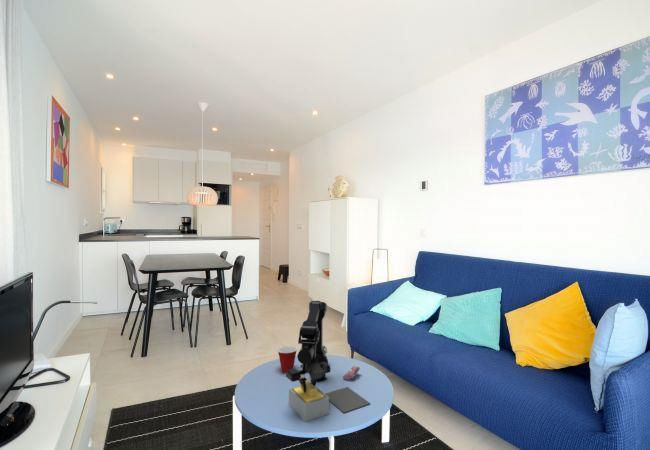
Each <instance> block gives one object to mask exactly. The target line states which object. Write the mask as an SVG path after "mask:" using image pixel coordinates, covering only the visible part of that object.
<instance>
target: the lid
mask: <svg viewBox="0 0 650 450" xmlns="http://www.w3.org/2000/svg"><path fill="white" fill-rule="evenodd" d="M315 386H316V385H315ZM315 386H314V385H313V384H312V383H311V381H310V380H308V379H307V380H306V392H305V393H304V392H303V389H302V387H297V386H296V387H297V388H294V389H293V391H294V392H295V393H296V394H297V395H298V396H299V397H300V398H301V399H302V400H304V401H305V402H306V403H308V402H312V401H315V400H318V399H322V398H325V396H324V395H322V394H321V393H320V392H319V391H318V390H317V388H318V387H317V386H316V387H317V388H316V387H315Z"/></svg>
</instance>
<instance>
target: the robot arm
mask: <svg viewBox="0 0 650 450" xmlns="http://www.w3.org/2000/svg"><path fill="white" fill-rule="evenodd" d="M308 311H309V312H308V314H307V315H308V316H307V318H306V320H304V321H303V322H302V324H301V326H300V328H299V335H298V343H297V344H299V345H301V347H300V349H299V351H298V353H297V354H296V355H297V357H296V358H297V360H298V362H299V363H300V368H301V370H298V369H296V368H294V367H293V369H290V370H287V372H286V373H285V377H286V378H287V379H288V380H289V381H291V382H292V383H293V382H297V381H298V382H299V384H300V386H301V387H302V389H303V392H304V393H305V392H306V380H308V379H307V378H306V375H307V374H309V376H310V383H312V384H313V385H314V386H316V385H317V383H319V382H323V381H326V380H328V378H327V377H326V374H327V373H331V369H332V368H331V366H330V364H329V360H328V356H327V353H326V352H325V350H324V348H323V346H322V345H324V344H323V343H324V340H323V333H324V332H323V329H324V328H323V326H324V325H323V324H324V323H323V319H324V318H325V316H326V315H327V314H326V312H327V311H328V304H327V303H326V302H325V301H320V300H311V301H310V302H309V304H308Z"/></svg>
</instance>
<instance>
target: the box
mask: <svg viewBox="0 0 650 450" xmlns="http://www.w3.org/2000/svg"><path fill="white" fill-rule="evenodd" d="M297 387H301V385H298V386H294V387H289V388H288V405H289V407H291V408H292V410H293V411H295V412H296V414H297V415H298V416H299V417H300V418H301V419H302V420H303V421H304V422H305V423H306V422H309V421H311V420H314V419H318V418H321V417H323V416H326V415H330V414H329V413H330V412H329V409H330V401H329V397H328V396H327V395H325V393H324V392H323V391H322V390H320V388H318V387H317V386H316V385H315V387H316V388H317V390H318V391H319V392H320V393H321V394H322V395H324V396H325V398H322V399H318V400H315V401H312V402H308V403H306V402H305V401H304V400H302V399H301V398H300V397H299V396H298V395H297V394H296V393H295V392H294V391H293V389H294V388H297Z"/></svg>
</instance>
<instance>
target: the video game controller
mask: <svg viewBox="0 0 650 450" xmlns="http://www.w3.org/2000/svg"><path fill="white" fill-rule="evenodd" d="M360 370H361V367H359V366H358V365H353V366H351V368H350V369H349V370H348V371H347V372H346V373H345V374H343V376H342V379H343V380H344V381H348V380H349V379H350V380H352V379H353V377H356V375H357V374H358V372H360Z"/></svg>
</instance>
